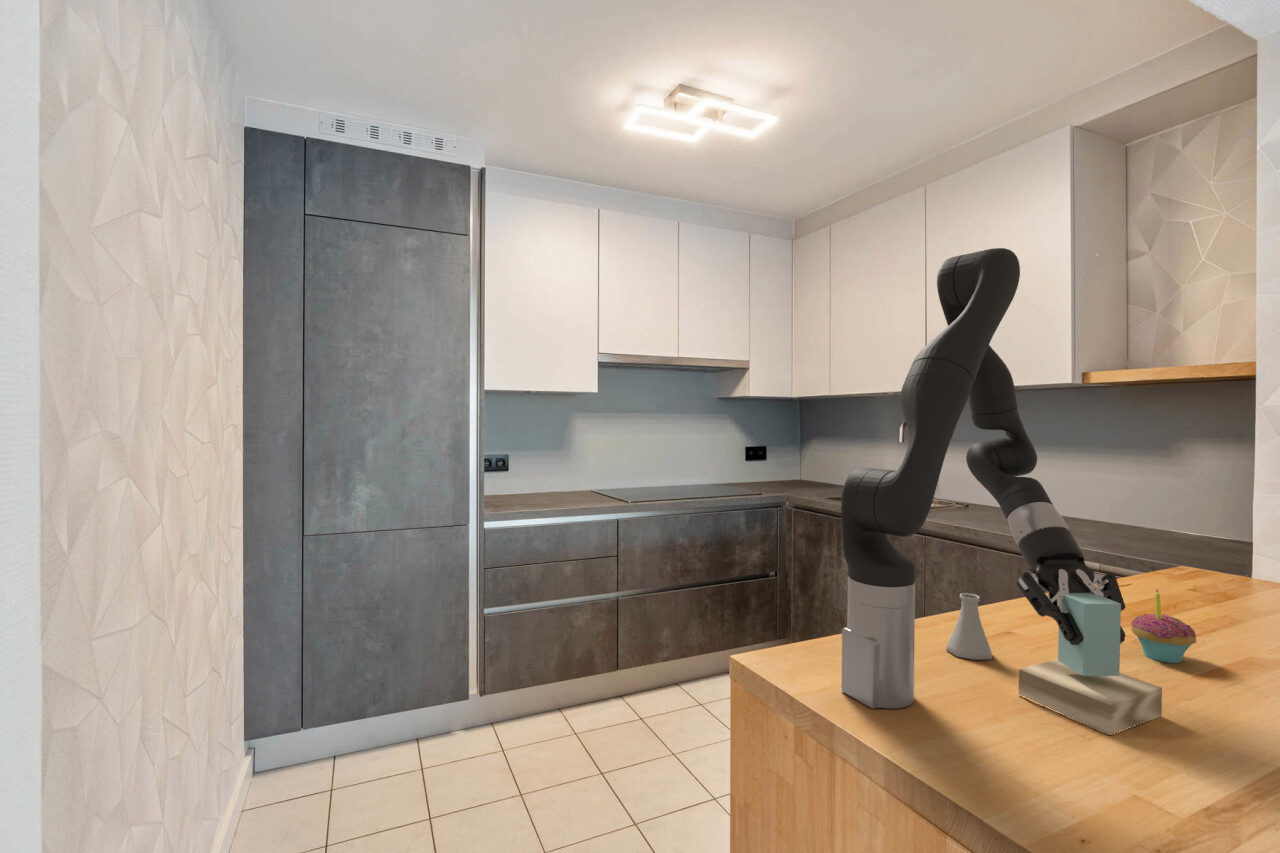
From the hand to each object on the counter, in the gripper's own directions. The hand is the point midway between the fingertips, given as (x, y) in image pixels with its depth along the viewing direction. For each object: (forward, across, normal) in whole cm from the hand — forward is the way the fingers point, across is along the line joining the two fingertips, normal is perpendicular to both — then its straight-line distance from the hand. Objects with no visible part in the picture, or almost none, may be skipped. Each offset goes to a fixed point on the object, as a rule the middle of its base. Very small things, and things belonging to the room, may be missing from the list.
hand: (1098, 642), depth 84 cm
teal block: (+2, 0, +4) cm, 5 cm away
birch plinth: (+6, 0, +8) cm, 10 cm away
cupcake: (-6, +25, +20) cm, 33 cm away
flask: (-8, -7, +22) cm, 24 cm away
